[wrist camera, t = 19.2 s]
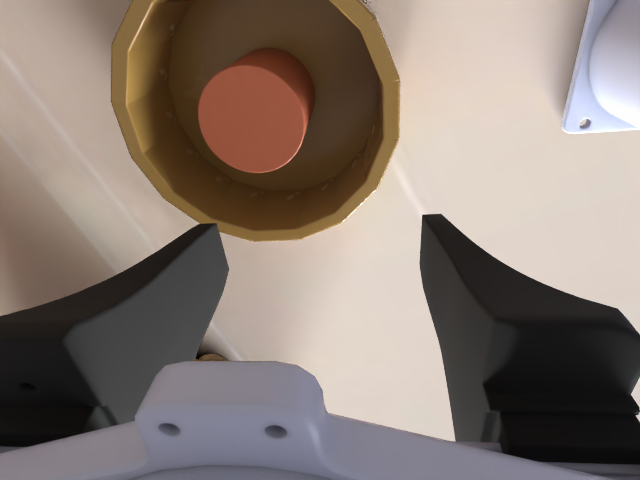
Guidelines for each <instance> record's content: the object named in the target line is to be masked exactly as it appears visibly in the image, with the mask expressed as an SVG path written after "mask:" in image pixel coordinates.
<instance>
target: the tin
mask: <svg viewBox="0 0 640 480" xmlns="http://www.w3.org/2000/svg"><path fill="white" fill-rule="evenodd" d="M260 48H277V49H281V50H284V51H286V52H288V53H290V54H292V55H293V56H295V57H296V58H297V59H298V60H299V61H300V62H301V63H302V64H303V65H304V66H305V68H306V69H307V70H308V72H309V74H310V76H311V78H312V81H313V84H314V89H315V104H314V109H313V112H312V115H311V118H310V121H309V124H308V127H307V130H306V132H305V135H304V138H303V141H302V144H301V146H300V148H299V150H298V152H297V153H296V154H295V156H294V157H293V158H292V159H291V160H290V161H289V162H288V163H286V164H285V165H284V166H282V167H280V168H278V169H276V170H273V171H269V172H264V173H251V172H245V171H241V170H239V169H236V168H234V167H232V166H230V165H228V164H227V163H225V162H224V161H222V160H221V159H220V158H219V157H218V156H217V155H216V154H215V153H214V152H213V151H212V150H211V149H210V147H209V146H208V144H207V143H206V141H205V139H204V137H203V135H202V132H201V129H200V126H199V121H198V104H199V99H200V96H201V93H202V91H203V89H204V87H205V85H206V84H207V83H208V81H209V80H210V79H211V78H212V77H213V76H214V75H215V74H217V73H218V72H219V71H221V70H222V69H224V68H226V67H227V66H229V65H230V64H232V63H233V62H235V61H237V60H238V59H240V58H241V57H243V56H244V55H246V54H248V53H249V52H251V51H253V50H256V49H260ZM399 79H400V78H399V75H398V72H397V70H396V67H395V65H394V62H393V60H392V57H391V55H390V52H389V50H388V47H387V45H386V42H385V39H384V37H383V34H382V32H381V29H380V27H379V24H378V22H377V19H376V17H375V16H374V14H373V12H372V11H371V9H370V8H369V7H368V6H367V5H366V4H365V3H364V2H363V1H362V0H132V1H131V4H130V6H129V8H128V10H127V12H126V14H125V16H124V19H123V21H122V23H121V25H120V27H119V29H118V31H117V33H116V36H115V38H114V40H113V43H112V61H111V103H112V106H113V109H114V112H115V115H116V117H117V120H118V123H119V126H120V128H121V131H122V134H123V137H124V139H125V142H126V145H127V148H128V150H129V153H130V155H131V158H132V159H133V160H134V162H135V163H136V164H137V165H138V167H139V168H140V169H141V170H142V172H143V173H144V174H145V176H146V177H147V178H148V179H149V181H150V182H151V183H152V184H153V186H154V187H155V188H156V189H157V191H158V192H159V193H160V194H161V196H162V197H163V198H164V199H165V200H166V201H168V202H169V203H171V204H172V205H174V206H175V207H177V208H178V209H180V210H181V211H183V212H184V213H186V214H187V215H188V216H190V217H191V218H193V219H194V220H196V221H197V222H199V223H200V224H203V223H217V226H218V230H219V232H222V233H226V234H229V235H232V236H236V237H239V238H242V239H246V240H249V241H254V242H257V241H285V240H299V239H303V238H306V237H308V236H310V235H313V234H315V233H318V232H320V231H323V230H325V229H328V228H330V227H332V226H335V225H337V224H340V223H342V222H343V221H345V220H346V219H347V218H348V217H349V216H350V215H351V214H352V213H353V212H354V211H355V210H356V209H357V208H358V207H359V206H360V205H361V204H362V203H363V202H364V201H365V200H366V199H367V198H368V197H369V196H371V195H372V194H373V193H374V192H375V191H376V190H377V188H378V187H379V185H380V182H381V180H382V178H383V176H384V173H385V171H386V169H387V166H388V164H389V162H390V159H391V157H392V155H393V153H394V150H395V148H396V146H397V143H398V139H399V122H400V80H399Z"/></svg>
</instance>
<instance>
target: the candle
mask: <svg viewBox="0 0 640 480" xmlns="http://www.w3.org/2000/svg"><path fill="white" fill-rule="evenodd" d="M314 104H315V89H314V84H313V81H312V78H311V76H310V74H309V72H308V70H307V69H306V68H305V66H304V65H303V64H302V63H301V62H300V61H299V60H298V59H297V58H296V57H295V56H293V55H292V54H290V53H288V52H286V51H284V50H281V49H277V48H260V49H256V50H253V51H251V52H249V53H248V54H246V55H244V56H243V57H241V58H240V59H238V60H237V61H235V62H233V63H232V64H230V65H229V66H227V67H226V68H224V69H222V70H221V71H219V72H218V73H217V74H215V75H214V76H213V77H212V78H211V79H210V80H209V81H208V83H207V84H206V85H205V87H204V89H203V91H202V93H201V96H200V99H199V104H198V121H199V126H200V129H201V132H202V135H203V137H204V139H205V141H206V143H207V144H208V146H209V147H210V149H211V150H212V151H213V152H214V153H215V154H216V155H217V156H218V157H219V158H220V159H221V160H222V161H224V162H225V163H227V164H228V165H230V166H232V167H234V168H236V169H239V170H241V171H245V172H251V173H264V172H269V171H273V170H276V169H278V168H280V167H282V166H284V165H285V164H286V163H288V162H289V161H290V160H291V159H292V158H293V157H294V156H295V154H296V153H297V152H298V150H299V148H300V146H301V144H302V141H303V138H304V135H305V132H306V130H307V127H308V124H309V121H310V118H311V115H312V112H313V109H314Z"/></svg>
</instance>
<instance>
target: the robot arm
mask: <svg viewBox="0 0 640 480" xmlns="http://www.w3.org/2000/svg"><path fill="white" fill-rule="evenodd" d="M586 118H587V122H586V123H585V124H584V125H583V126H580V127H579V124H580V122H581V121H582V120H583V119H586ZM561 127H562V129H563V130H564V131H565V132H567V133H571V134H574V133H590V132H606V131H622V130H639V129H640V0H590V3H589V7H588V11H587V16H586V20H585V24H584V28H583V33H582V37H581V41H580V46H579V50H578V54H577V58H576V63H575V67H574V71H573V75H572V80H571V84H570V88H569V92H568V97H567V101H566V105H565V109H564V114H563V118H562V122H561ZM420 270H421V277H422V283H423V289H424V293H425V296H426V299H427V303H428V306H429V310H430V313H431V316H432V320H433V323H434V327H435V330H436V333H437V337H438V340H439V344H440V348H441V352H442V358H443V364H444V369H445V375H446V381H447V387H448V393H449V400H450V406H451V412H452V419H453V426H454V433H455V440H456V442H454V441H447V440H443V439H438V438H434V437H430V436H425V435H421V434H417V433H413V432H408V431H404V430H400V429H395V428H391V427H387V426H382V425H378V424H374V423H370V422H365V421H361V420H357V419H352V418H348V417H344V416H339V415H335V414H331V413H328V412H327V411H326V408H325V405H324V399H323V391H322V389H321V387H320V385H319V383H318V381H317V380H316V378H315V376H313V375H312V374H310V373H309V372H307V371H305V370H304V369H302V368H300V367H299V366H297V365H294V364H288V363H283V362H277V361H195V358H196V355H197V352H198V349H199V347H200V344H201V341H202V339H203V337H204V335H205V332H206V330H207V328H208V325H209V323H210V321H211V319H212V316H213V314H214V312H215V310H216V307H217V305H218V303H219V300H220V298H221V296H222V293H223V290H224V287H225V283H226V279H227V275H228V271H229V267H228V264H227V260H226V256H225V252H224V249H223V245H222V241H221V237H220V233H219V230H218V226H217V223H203V224H199V225H197V226H195V227H193V228H192V229H190V230H188V231H187V232H185V233H184V234H182V235H181V236H179V237H178V238H176V239H175V240H173V241H172V242H171V243H169V244H168V245H166V246H165V247H163V248H162V249H160V250H159V251H157V252H155V253H154V254H152V255H151V256H149V257H147V258H146V259H144V260H142V261H141V262H139V263H138V264H136V265H134V266H132V267H131V268H129V269H127V270H125V271H123V272H121V273H119V274H117V275H115V276H113V277H112V278H109V279H107V280H105V281H103V282H101V283H98V284H96V285H94V286H91V287H89V288H87V289H84V290H82V291H80V292H77V293H75V294H72V295H69V296H66V297H64V298H61V299H58V300H55V301H52V302H49V303H46V304H43V305H39V306H36V307H33V308H29V309H25V310H22V311H18V312H14V313H11V314H7V315H3V316H0V480H640V422H639V420H638V419H637V417H636V416H635V415H638V414H639V412H640V410H639V406H638V405H637V403H636V402H635V400H634V399H633V397H632V396H631V393H632V391H633V389H634V387H635V385H636V383H637V381H638V379H639V377H640V335H639V333H638V332H637V331H636V330H635V328H634V327H633V326H632V324H631V323H630V322H629V321H628V320H627V318H626V317H625V316H624V315H623V314H622V313H621V312H620V311H619V310H618V309H617V308H613V307H610V306H607V305H603V304H600V303H596V302H593V301H589V300H586V299H582V298H579V297H576V296H574V295H571V294H568V293H565V292H563V291H560V290H557V289H555V288H552V287H550V286H547V285H545V284H543V283H541V282H538V281H536V280H534V279H532V278H530V277H528V276H526V275H524V274H522V273H520V272H518V271H516V270H514V269H513V268H511V267H509V266H507V265H506V264H504V263H502V262H501V261H499V260H497V259H496V258H494V257H493V256H491V255H490V254H489V253H487V252H486V251H484V250H483V249H482V248H480V247H479V246H478V245H476V244H475V243H474V242H472V241H471V240H470V239H469V238H468V237H466V236H465V235H464V234H463V233H462V232H461V231H459V230H458V229H457V228H456V227H455V226H454V225H453V224H452V223H451V222H449V221H448V220H447V219H446V218H445V217H444V216H443V215H442V214H429V215H422V231H421V249H420Z"/></svg>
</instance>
